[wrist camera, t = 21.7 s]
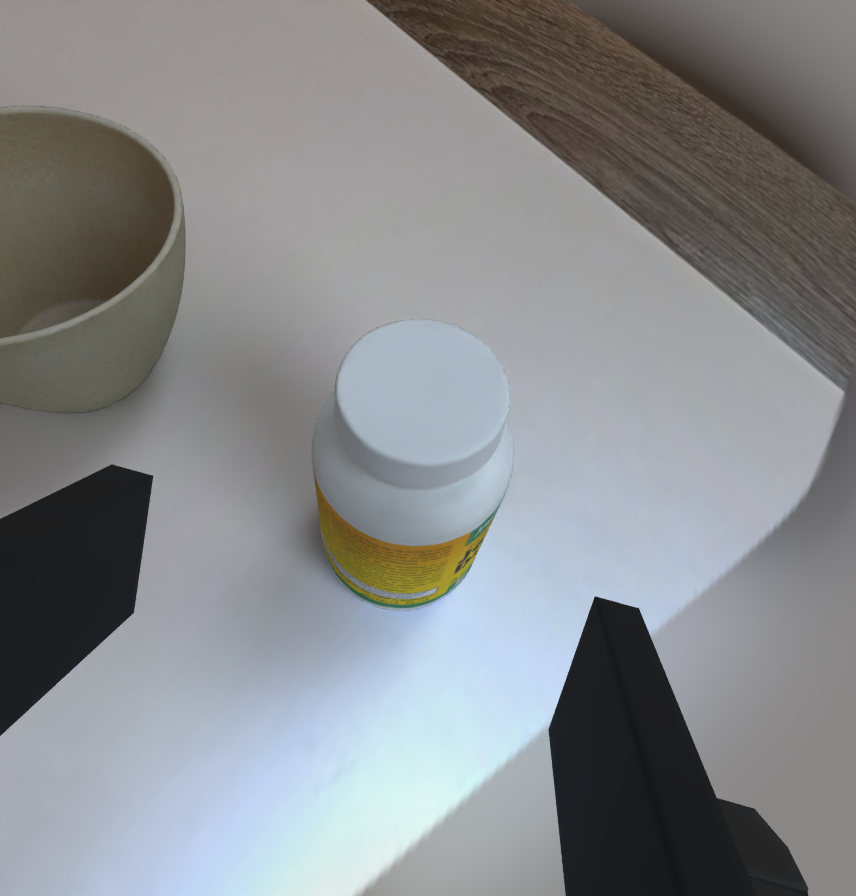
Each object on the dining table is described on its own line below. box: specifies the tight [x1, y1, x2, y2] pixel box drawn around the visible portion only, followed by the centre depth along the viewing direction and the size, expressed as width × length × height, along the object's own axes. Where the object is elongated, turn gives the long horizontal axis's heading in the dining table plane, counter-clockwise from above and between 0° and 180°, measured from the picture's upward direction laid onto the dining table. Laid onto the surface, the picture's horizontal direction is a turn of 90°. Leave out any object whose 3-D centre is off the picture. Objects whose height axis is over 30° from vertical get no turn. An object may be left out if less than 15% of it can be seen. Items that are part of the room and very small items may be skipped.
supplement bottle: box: [312, 319, 514, 611], centre depth 19 cm, size 5×5×10 cm
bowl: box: [0, 106, 185, 413], centre depth 23 cm, size 10×10×7 cm
